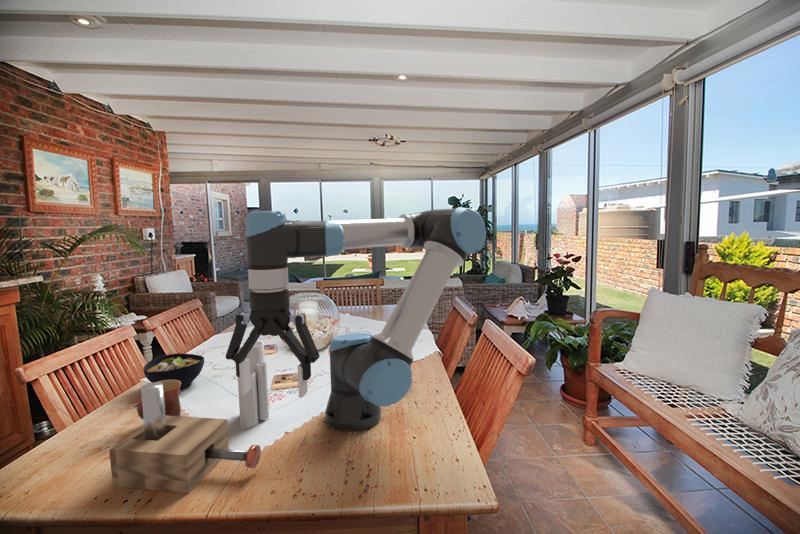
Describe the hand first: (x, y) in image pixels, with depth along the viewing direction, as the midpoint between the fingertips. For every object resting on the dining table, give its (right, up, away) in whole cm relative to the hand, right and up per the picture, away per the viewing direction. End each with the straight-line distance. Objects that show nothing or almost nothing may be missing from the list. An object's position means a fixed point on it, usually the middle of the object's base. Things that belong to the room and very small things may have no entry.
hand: (274, 393), depth 78 cm
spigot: (-27, -13, +5) cm, 31 cm away
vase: (-14, -16, +27) cm, 34 cm away
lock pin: (-11, -16, +3) cm, 20 cm away
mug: (-38, -16, +23) cm, 47 cm away
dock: (-24, -18, +5) cm, 30 cm away
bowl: (-48, -14, +47) cm, 69 cm away
